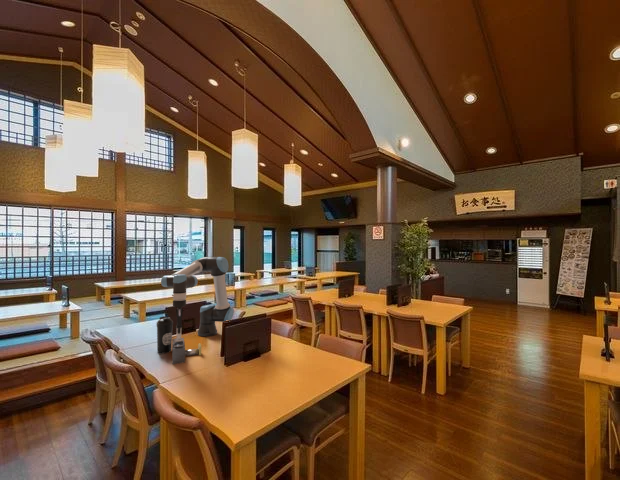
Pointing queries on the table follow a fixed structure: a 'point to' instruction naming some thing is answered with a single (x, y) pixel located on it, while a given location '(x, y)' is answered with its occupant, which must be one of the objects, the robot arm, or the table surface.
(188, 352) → the lynch pin
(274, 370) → the table surface
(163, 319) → the water bottle
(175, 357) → the hitch beam
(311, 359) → the table surface
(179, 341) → the plate
